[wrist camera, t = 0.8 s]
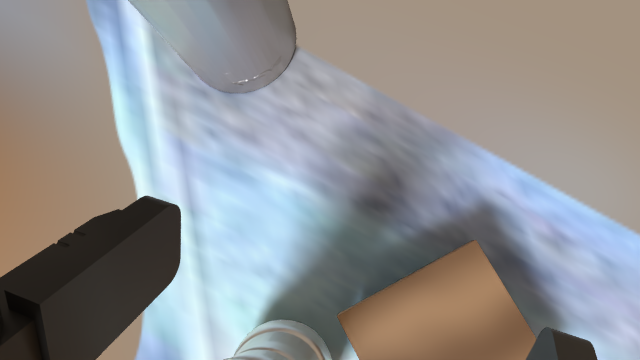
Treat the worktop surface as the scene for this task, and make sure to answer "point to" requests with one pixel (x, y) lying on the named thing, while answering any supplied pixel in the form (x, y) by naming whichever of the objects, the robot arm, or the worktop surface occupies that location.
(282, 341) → the plastic bottle
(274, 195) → the worktop surface
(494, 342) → the pegged shelf
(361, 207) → the worktop surface
